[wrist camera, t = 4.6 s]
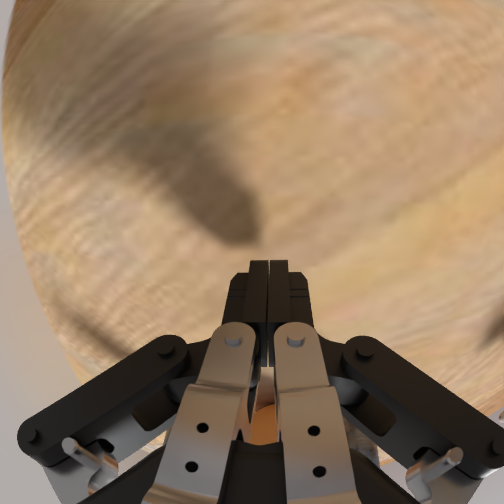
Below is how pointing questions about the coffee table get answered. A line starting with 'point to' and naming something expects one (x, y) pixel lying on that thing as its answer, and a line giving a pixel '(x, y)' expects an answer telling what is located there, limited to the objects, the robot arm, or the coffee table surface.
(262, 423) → the ball
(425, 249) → the coffee table surface
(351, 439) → the post
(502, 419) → the bull figurine
